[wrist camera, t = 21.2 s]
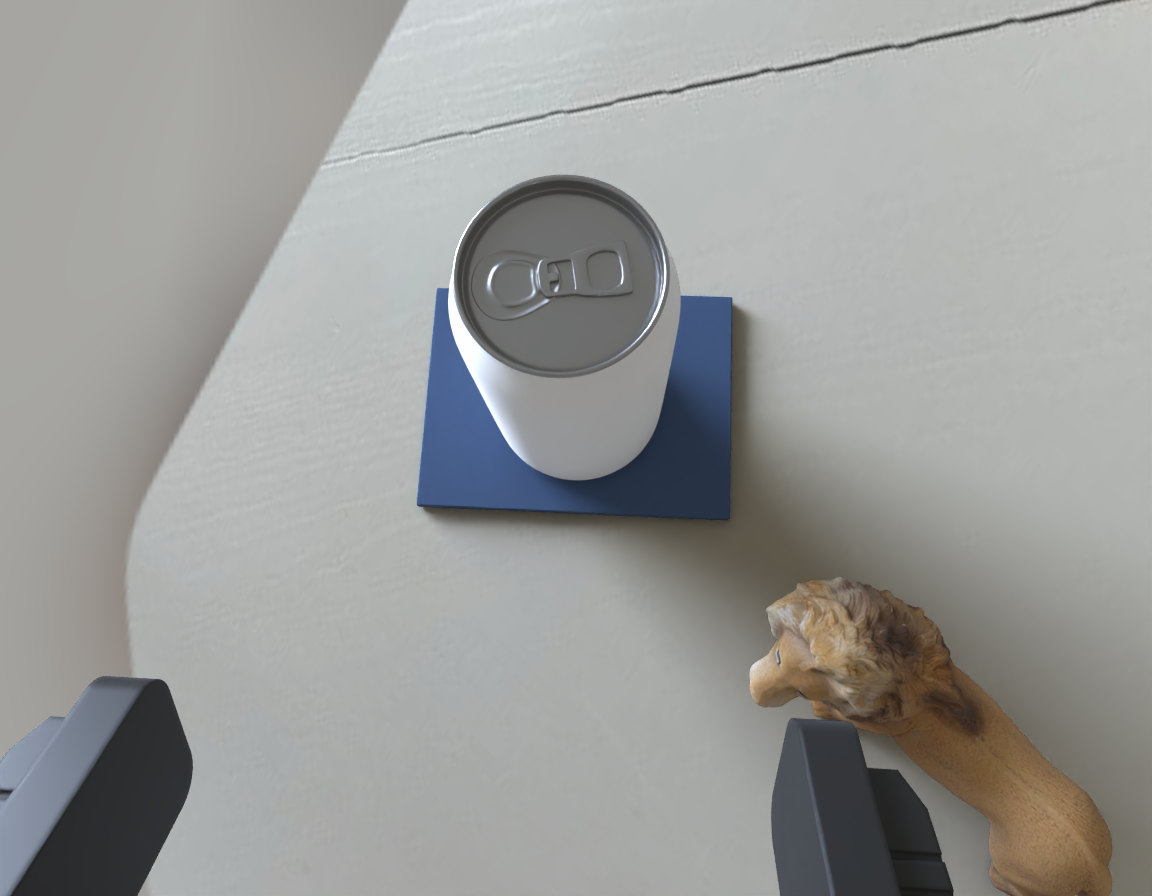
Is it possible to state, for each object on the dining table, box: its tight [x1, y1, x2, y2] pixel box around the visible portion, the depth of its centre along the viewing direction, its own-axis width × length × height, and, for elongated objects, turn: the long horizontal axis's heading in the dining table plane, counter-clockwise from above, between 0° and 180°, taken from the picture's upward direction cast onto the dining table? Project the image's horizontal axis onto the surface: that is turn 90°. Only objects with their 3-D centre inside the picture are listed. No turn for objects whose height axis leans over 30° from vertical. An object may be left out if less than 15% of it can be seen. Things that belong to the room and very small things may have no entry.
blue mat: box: [417, 288, 732, 520], centre depth 34 cm, size 12×9×1 cm
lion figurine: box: [749, 577, 1112, 896], centre depth 26 cm, size 15×5×9 cm, turn 53°
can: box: [448, 175, 681, 480], centre depth 28 cm, size 6×6×12 cm
